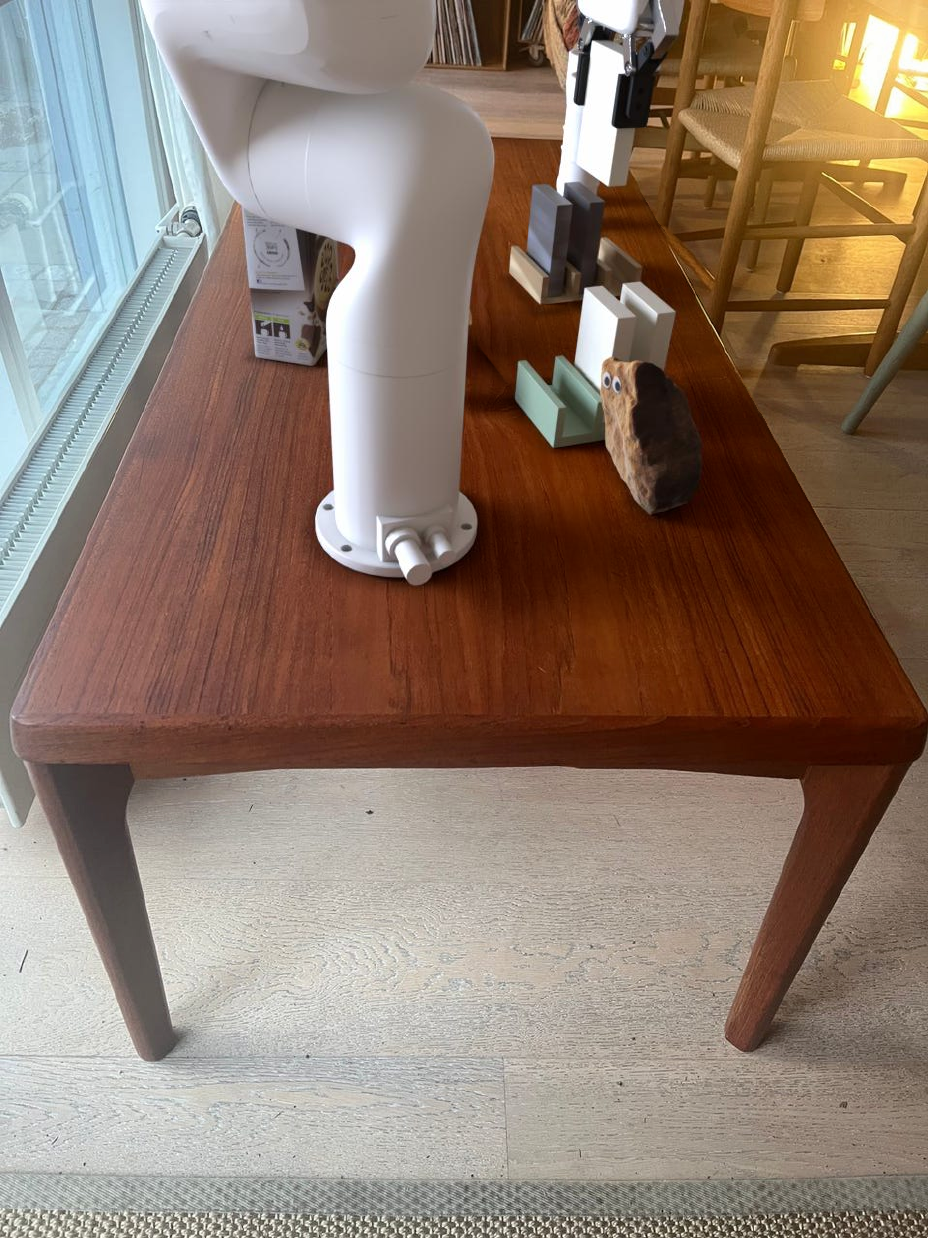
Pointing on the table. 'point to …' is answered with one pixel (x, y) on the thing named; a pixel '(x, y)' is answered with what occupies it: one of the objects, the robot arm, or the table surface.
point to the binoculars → (573, 136)
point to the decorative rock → (650, 434)
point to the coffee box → (289, 289)
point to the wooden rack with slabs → (569, 248)
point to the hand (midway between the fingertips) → (609, 113)
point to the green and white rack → (595, 362)
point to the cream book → (604, 118)
